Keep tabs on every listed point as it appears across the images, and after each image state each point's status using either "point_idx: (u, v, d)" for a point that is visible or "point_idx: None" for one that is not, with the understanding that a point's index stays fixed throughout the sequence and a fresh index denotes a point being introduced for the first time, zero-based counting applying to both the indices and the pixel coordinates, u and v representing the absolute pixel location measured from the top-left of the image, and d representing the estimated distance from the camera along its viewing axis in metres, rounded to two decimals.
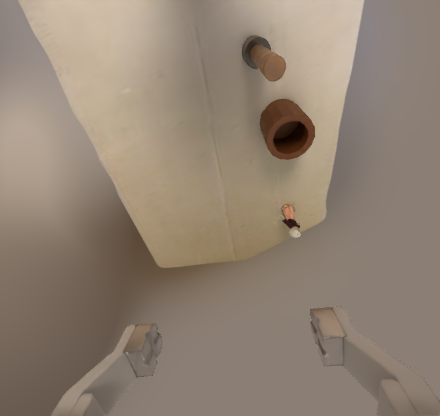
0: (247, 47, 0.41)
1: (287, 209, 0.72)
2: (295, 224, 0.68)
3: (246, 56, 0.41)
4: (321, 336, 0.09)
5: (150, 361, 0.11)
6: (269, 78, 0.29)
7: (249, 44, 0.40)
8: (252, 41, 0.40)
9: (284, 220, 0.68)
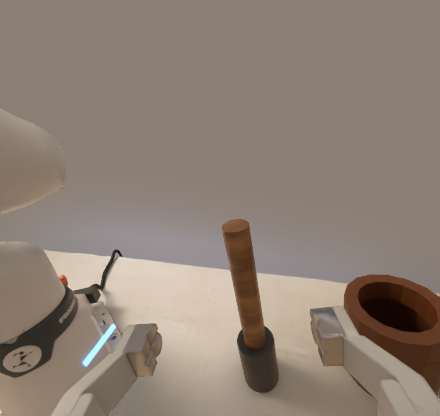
0: (242, 350, 0.28)
1: None
2: None
3: (251, 355, 0.27)
4: (321, 336, 0.09)
5: (150, 361, 0.11)
6: (242, 228, 0.22)
7: (240, 346, 0.29)
8: (239, 341, 0.29)
9: None
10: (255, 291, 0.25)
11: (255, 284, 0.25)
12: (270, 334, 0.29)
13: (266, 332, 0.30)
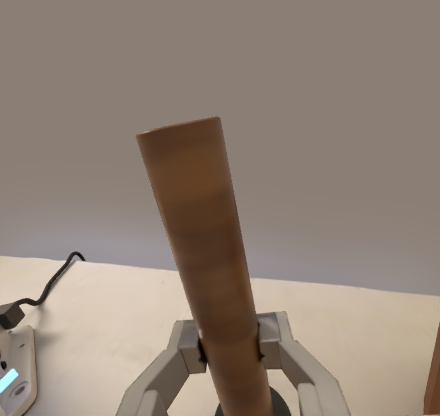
0: None
1: None
2: None
3: None
4: None
5: (203, 358, 0.10)
6: (194, 121, 0.06)
7: None
8: None
9: None
10: (246, 325, 0.09)
11: (247, 306, 0.09)
12: (285, 410, 0.14)
13: (276, 404, 0.14)
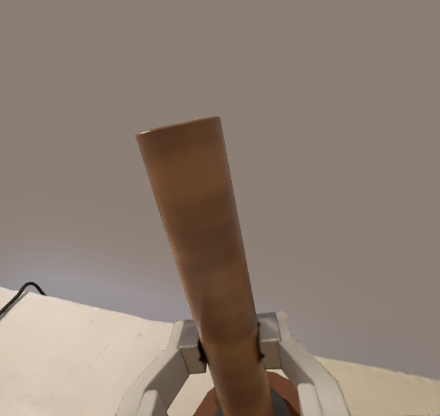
0: None
1: None
2: None
3: None
4: None
5: (203, 357, 0.10)
6: (194, 120, 0.06)
7: None
8: None
9: None
10: (246, 325, 0.09)
11: (247, 306, 0.09)
12: (285, 410, 0.14)
13: (276, 404, 0.14)
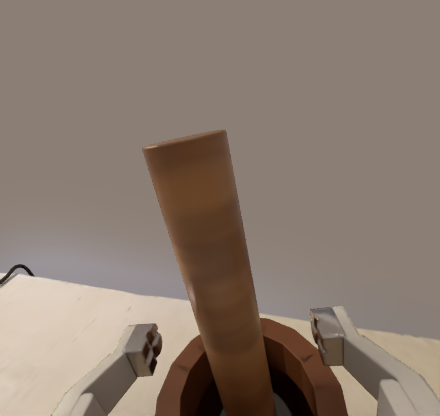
0: None
1: None
2: None
3: None
4: (321, 336, 0.09)
5: (150, 361, 0.11)
6: (201, 135, 0.06)
7: None
8: None
9: None
10: (251, 335, 0.09)
11: (252, 316, 0.09)
12: None
13: (279, 410, 0.14)
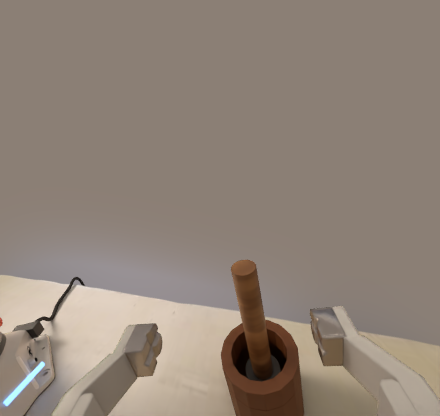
0: None
1: None
2: None
3: None
4: (321, 336, 0.09)
5: (150, 361, 0.11)
6: (250, 271, 0.24)
7: (248, 376, 0.30)
8: (247, 370, 0.31)
9: None
10: (262, 326, 0.26)
11: (262, 319, 0.26)
12: (276, 363, 0.31)
13: (273, 361, 0.31)
